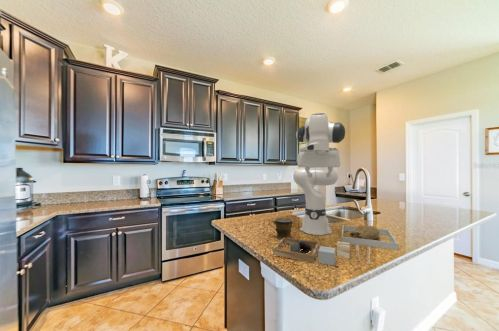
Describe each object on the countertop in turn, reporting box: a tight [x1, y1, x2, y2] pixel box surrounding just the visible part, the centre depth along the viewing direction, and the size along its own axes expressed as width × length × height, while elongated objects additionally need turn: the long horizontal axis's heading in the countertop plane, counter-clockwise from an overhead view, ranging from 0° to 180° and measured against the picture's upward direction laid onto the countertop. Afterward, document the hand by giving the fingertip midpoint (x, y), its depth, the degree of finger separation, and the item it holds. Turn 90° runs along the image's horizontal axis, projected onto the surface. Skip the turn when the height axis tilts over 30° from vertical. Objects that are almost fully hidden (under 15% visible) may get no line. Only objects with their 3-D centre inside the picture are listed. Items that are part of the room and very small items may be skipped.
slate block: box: [317, 245, 336, 267], centre depth 87 cm, size 6×6×5 cm
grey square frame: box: [341, 224, 399, 250], centre depth 116 cm, size 24×24×3 cm
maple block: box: [336, 241, 351, 259], centre depth 94 cm, size 5×5×5 cm
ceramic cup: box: [268, 217, 294, 240], centre depth 118 cm, size 13×10×10 cm
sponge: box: [348, 225, 380, 240], centre depth 116 cm, size 13×8×20 cm
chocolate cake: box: [289, 239, 313, 254], centre depth 96 cm, size 10×7×12 cm
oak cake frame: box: [272, 237, 320, 264], centre depth 97 cm, size 17×17×3 cm
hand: (319, 177), depth 99 cm, fingers open, 8 cm apart
